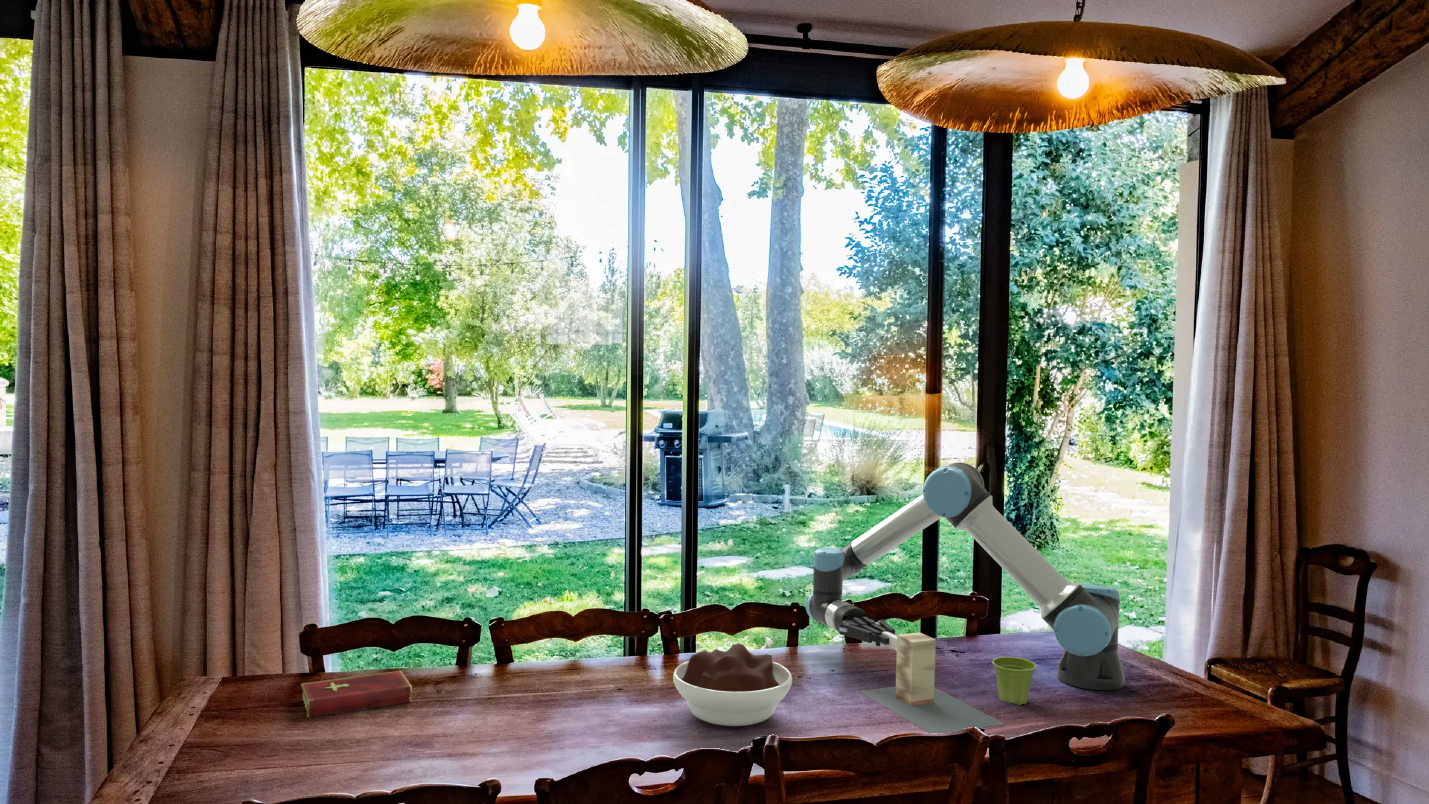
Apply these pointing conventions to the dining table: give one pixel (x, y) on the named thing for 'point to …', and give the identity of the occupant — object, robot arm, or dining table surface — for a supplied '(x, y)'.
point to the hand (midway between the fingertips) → (900, 645)
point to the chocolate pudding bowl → (732, 686)
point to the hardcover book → (356, 693)
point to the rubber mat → (934, 711)
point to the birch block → (915, 668)
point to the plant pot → (1013, 678)
